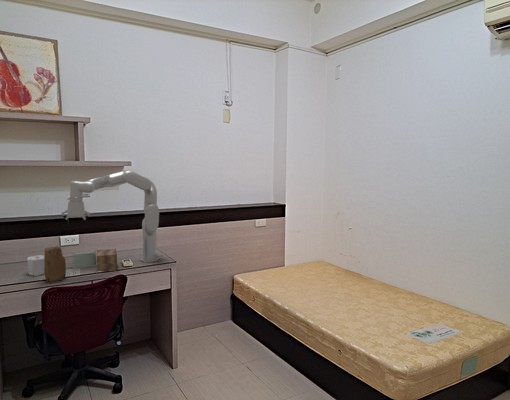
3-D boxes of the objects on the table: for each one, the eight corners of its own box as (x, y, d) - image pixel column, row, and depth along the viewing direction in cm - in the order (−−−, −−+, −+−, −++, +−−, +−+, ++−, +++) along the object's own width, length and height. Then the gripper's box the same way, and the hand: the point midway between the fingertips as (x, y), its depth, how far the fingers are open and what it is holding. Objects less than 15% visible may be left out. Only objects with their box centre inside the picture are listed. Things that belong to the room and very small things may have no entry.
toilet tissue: (43, 269, 243) (42, 254, 241) (51, 273, 235) (50, 258, 234) (25, 273, 234) (24, 257, 233) (32, 277, 227) (32, 261, 226)
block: (46, 283, 218) (45, 249, 216) (44, 279, 224) (42, 247, 221) (67, 279, 225) (66, 247, 223) (63, 276, 231) (62, 244, 228)
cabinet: (116, 264, 257) (115, 248, 256) (117, 270, 245) (116, 254, 243) (97, 266, 253) (96, 250, 251) (97, 272, 240) (96, 255, 238)
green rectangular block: (96, 264, 252) (96, 251, 251) (73, 267, 244) (72, 253, 243) (95, 263, 254) (95, 250, 253) (72, 266, 246) (72, 252, 245)
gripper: (60, 200, 240) (60, 226, 242) (90, 200, 246) (89, 226, 248) (62, 198, 247) (62, 224, 249) (91, 199, 253) (90, 224, 255)
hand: (75, 225), depth 248 cm, fingers open, 9 cm apart
